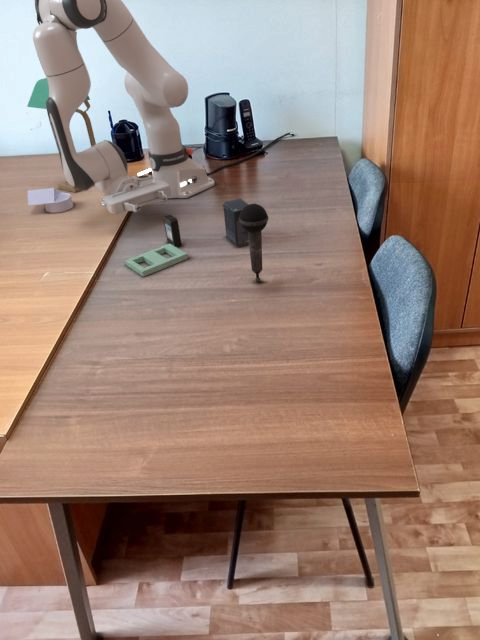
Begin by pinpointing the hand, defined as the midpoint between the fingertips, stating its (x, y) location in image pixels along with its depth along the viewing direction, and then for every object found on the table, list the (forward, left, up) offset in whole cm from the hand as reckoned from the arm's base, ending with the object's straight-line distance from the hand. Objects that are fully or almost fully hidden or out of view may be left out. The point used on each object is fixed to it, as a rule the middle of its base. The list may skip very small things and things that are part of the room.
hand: (151, 203), depth 154 cm
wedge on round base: (+14, -43, -9) cm, 46 cm away
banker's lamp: (-5, -58, -9) cm, 59 cm away
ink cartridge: (+1, +11, -9) cm, 14 cm away
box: (-14, +23, -9) cm, 28 cm away
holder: (+10, +17, -9) cm, 21 cm away
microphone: (-2, +45, -9) cm, 46 cm away
